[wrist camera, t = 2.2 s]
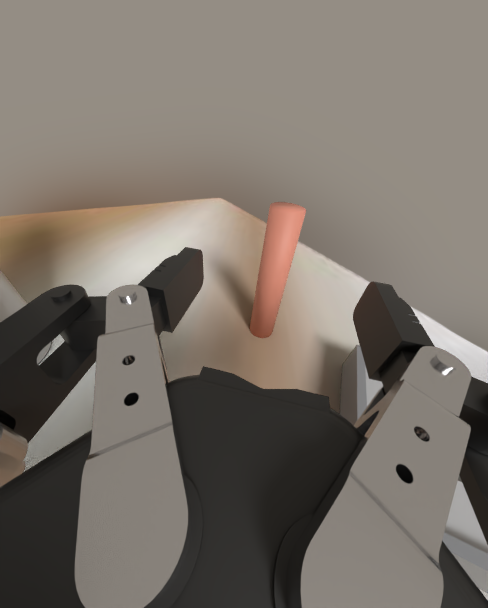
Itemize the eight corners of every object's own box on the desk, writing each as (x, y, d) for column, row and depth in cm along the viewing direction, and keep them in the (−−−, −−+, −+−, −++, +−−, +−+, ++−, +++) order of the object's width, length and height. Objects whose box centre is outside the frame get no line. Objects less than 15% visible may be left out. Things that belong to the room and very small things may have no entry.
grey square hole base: (334, 511, 16) (358, 505, 13) (342, 364, 26) (356, 344, 23) (569, 636, 13) (662, 660, 10) (475, 414, 23) (509, 397, 20)
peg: (246, 332, 28) (265, 208, 18) (254, 317, 31) (275, 199, 20) (268, 341, 28) (302, 216, 17) (275, 325, 30) (308, 207, 20)
